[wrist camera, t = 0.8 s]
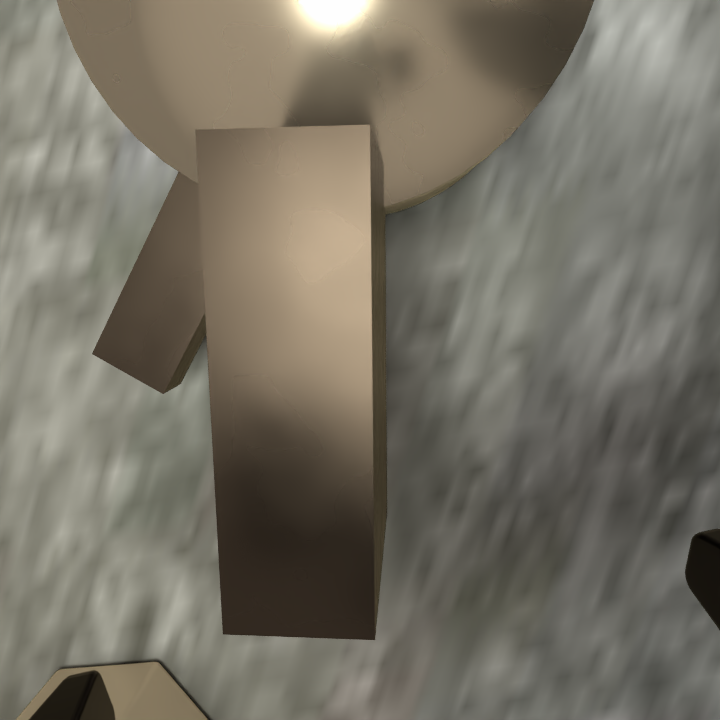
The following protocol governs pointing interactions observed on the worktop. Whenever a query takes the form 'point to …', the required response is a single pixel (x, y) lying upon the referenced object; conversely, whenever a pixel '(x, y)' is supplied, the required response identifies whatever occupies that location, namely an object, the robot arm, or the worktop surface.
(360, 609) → the cooker lid
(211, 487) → the worktop surface
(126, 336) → the cooker pot
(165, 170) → the worktop surface
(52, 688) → the jar
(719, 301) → the worktop surface
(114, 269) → the worktop surface
